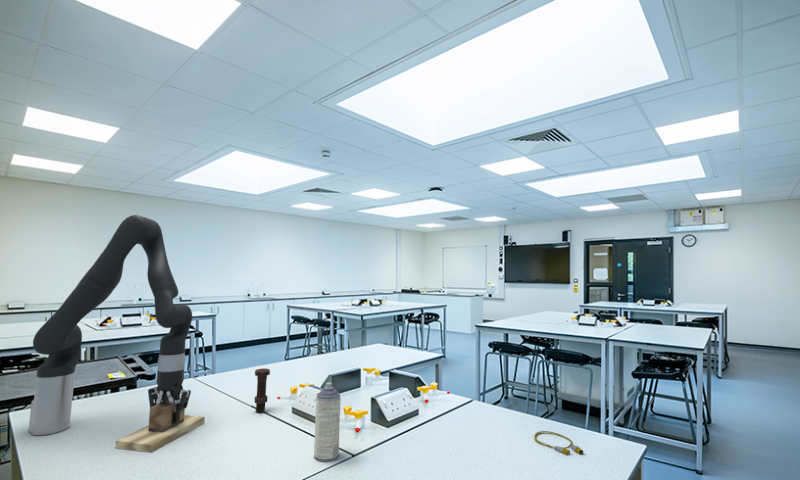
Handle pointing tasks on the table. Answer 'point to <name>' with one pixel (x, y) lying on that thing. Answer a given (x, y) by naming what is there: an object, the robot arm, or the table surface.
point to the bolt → (261, 389)
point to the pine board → (158, 435)
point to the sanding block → (163, 417)
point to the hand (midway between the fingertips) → (167, 422)
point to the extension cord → (560, 449)
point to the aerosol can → (327, 424)
